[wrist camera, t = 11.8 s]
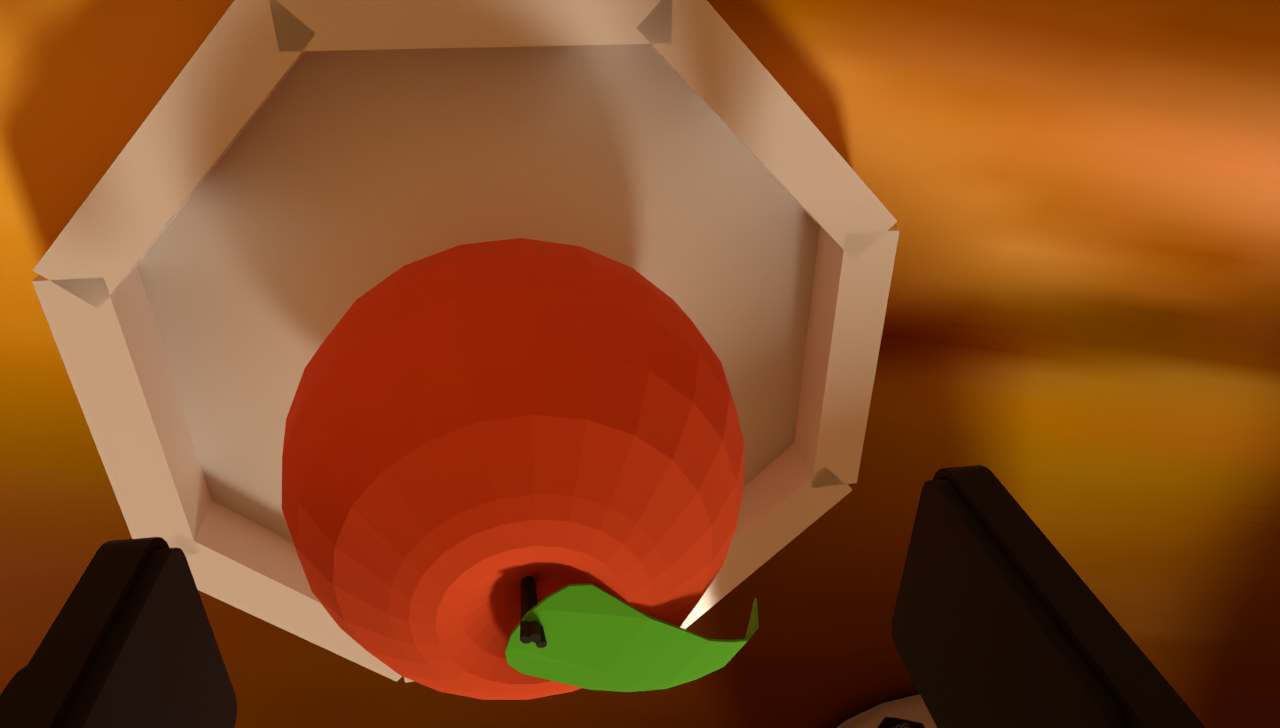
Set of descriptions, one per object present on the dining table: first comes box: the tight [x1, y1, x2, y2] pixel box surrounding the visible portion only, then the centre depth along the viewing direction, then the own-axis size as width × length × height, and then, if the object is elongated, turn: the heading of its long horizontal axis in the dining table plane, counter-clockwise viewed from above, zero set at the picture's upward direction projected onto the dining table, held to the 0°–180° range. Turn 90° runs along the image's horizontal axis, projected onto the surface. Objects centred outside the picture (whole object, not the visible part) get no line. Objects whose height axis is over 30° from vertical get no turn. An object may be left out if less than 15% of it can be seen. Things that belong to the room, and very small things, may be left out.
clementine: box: [282, 238, 759, 700], centre depth 13 cm, size 8×7×7 cm
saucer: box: [32, 0, 900, 683], centre depth 16 cm, size 14×14×2 cm
